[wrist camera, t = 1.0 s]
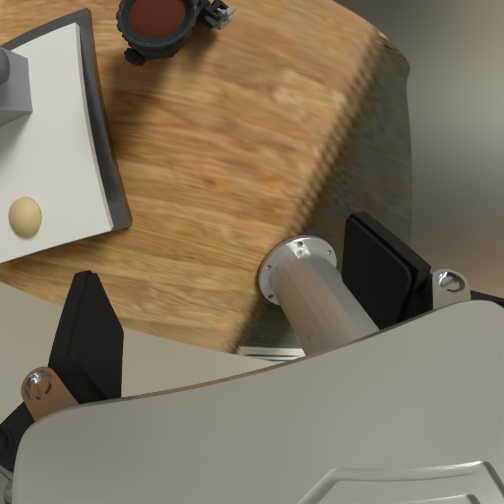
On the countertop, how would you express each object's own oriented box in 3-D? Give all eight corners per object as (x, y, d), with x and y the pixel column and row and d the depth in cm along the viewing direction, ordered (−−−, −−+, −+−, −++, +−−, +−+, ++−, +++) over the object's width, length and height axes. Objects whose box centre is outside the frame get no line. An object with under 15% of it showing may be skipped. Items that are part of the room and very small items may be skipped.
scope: (267, -7, 15) (162, 91, 17) (227, 23, 26) (163, 87, 28) (183, -71, 10) (74, 27, 13) (174, -18, 22) (108, 46, 24)
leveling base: (132, 219, 35) (131, 226, 34) (7, 255, 32) (2, 263, 30) (91, 11, 21) (87, 7, 19) (-46, 80, 17) (-54, 81, 16)
